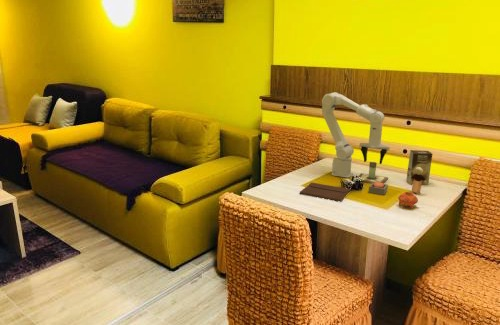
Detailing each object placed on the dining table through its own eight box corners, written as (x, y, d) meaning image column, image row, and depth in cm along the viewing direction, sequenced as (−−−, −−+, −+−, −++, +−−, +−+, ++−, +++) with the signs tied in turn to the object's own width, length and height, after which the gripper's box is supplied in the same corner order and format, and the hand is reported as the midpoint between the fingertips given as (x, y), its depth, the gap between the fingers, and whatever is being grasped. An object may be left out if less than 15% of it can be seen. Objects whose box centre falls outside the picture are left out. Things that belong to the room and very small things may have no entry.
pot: (399, 200, 181) (404, 187, 178) (416, 208, 177) (422, 195, 174) (392, 205, 175) (398, 191, 172) (410, 213, 171) (416, 199, 168)
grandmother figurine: (407, 193, 190) (410, 167, 187) (408, 190, 194) (411, 164, 190) (424, 195, 187) (428, 169, 183) (425, 193, 190) (429, 167, 187)
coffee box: (409, 184, 202) (413, 153, 198) (406, 180, 208) (409, 149, 204) (428, 185, 201) (432, 153, 197) (424, 180, 207) (428, 150, 203)
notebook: (340, 203, 180) (341, 198, 179) (299, 195, 189) (299, 191, 189) (350, 192, 192) (351, 188, 192) (311, 185, 202) (311, 181, 201)
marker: (367, 178, 208) (368, 163, 206) (369, 176, 211) (370, 161, 209) (374, 179, 206) (375, 164, 204) (375, 177, 209) (377, 162, 207)
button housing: (368, 192, 191) (369, 186, 190) (372, 188, 197) (372, 182, 196) (384, 195, 188) (384, 189, 187) (387, 190, 193) (387, 184, 193)
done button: (372, 189, 191) (372, 184, 190) (374, 186, 195) (375, 181, 194) (382, 190, 189) (382, 185, 188) (384, 188, 193) (384, 183, 192)
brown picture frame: (354, 181, 207) (354, 179, 207) (361, 174, 217) (361, 172, 217) (382, 185, 201) (383, 183, 200) (388, 178, 211) (388, 176, 210)
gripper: (358, 136, 203) (356, 162, 206) (388, 139, 196) (385, 166, 200) (362, 133, 209) (360, 159, 212) (391, 136, 202) (388, 163, 205)
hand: (372, 162), depth 206 cm, fingers open, 7 cm apart
